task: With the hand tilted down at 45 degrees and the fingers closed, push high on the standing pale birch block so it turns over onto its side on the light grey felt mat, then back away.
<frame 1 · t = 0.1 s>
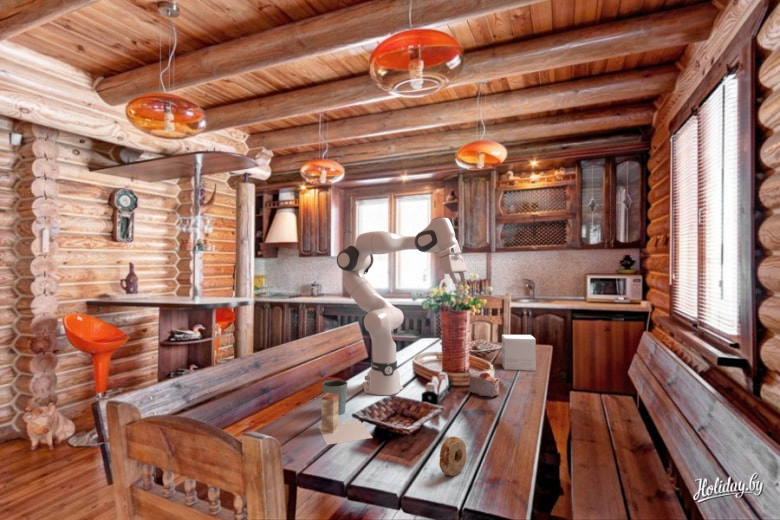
hand: (460, 282, 174), 52 cm above the table, tool tilted 20°, fingers open, 8 cm apart
birch block: (330, 429, 147), resting on felt mat
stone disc: (453, 473, 118), on the table
felt mat: (344, 432, 145), on the table
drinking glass: (334, 413, 165), on the table
supplement box: (518, 367, 236), on the table
food item: (484, 394, 188), on the table
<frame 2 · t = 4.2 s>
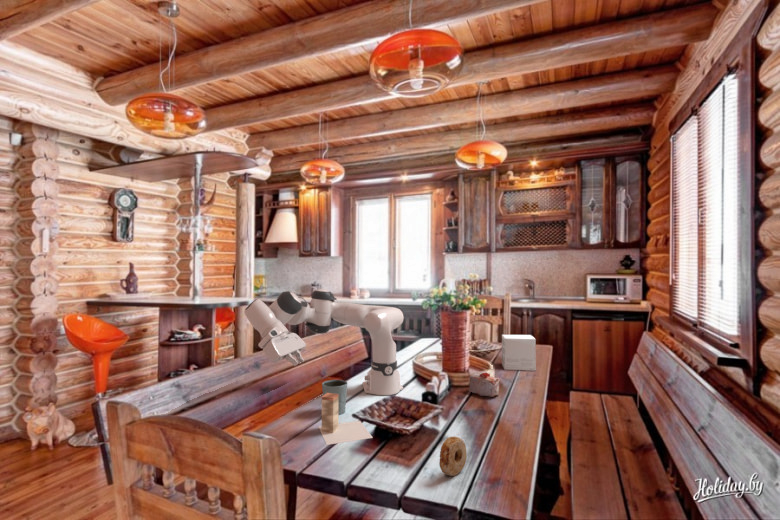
hand: (299, 363, 151), 23 cm above the table, tool tilted 45°, fingers closed
nothing on the table moved.
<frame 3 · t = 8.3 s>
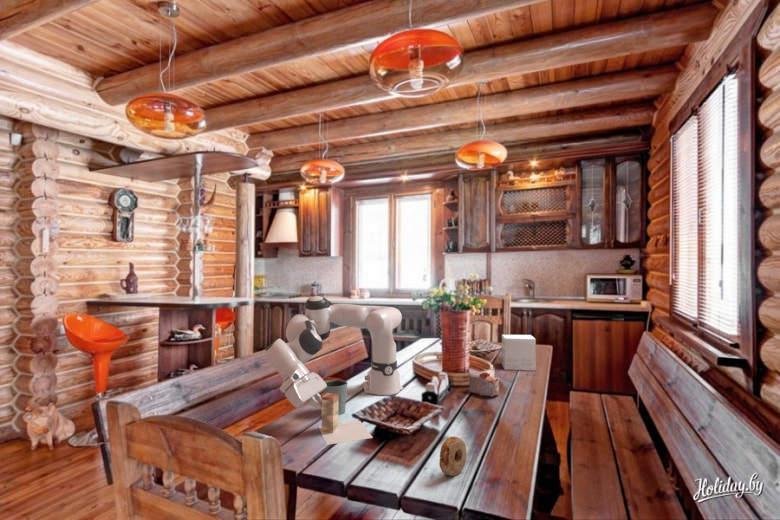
hand: (321, 407, 147), 9 cm above the table, tool tilted 45°, fingers closed, pressing on birch block
birch block: (330, 429, 147), resting on felt mat, touching gripper
everything else where it was.
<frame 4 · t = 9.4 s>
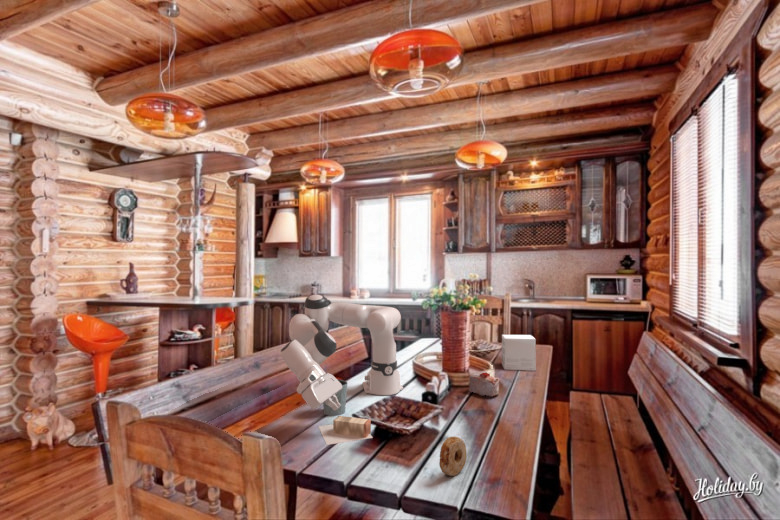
hand: (338, 408, 145), 9 cm above the table, tool tilted 45°, fingers closed
birch block: (336, 424, 146), point 3 cm above the table, tilted 90°, touching felt mat
everything else where it was.
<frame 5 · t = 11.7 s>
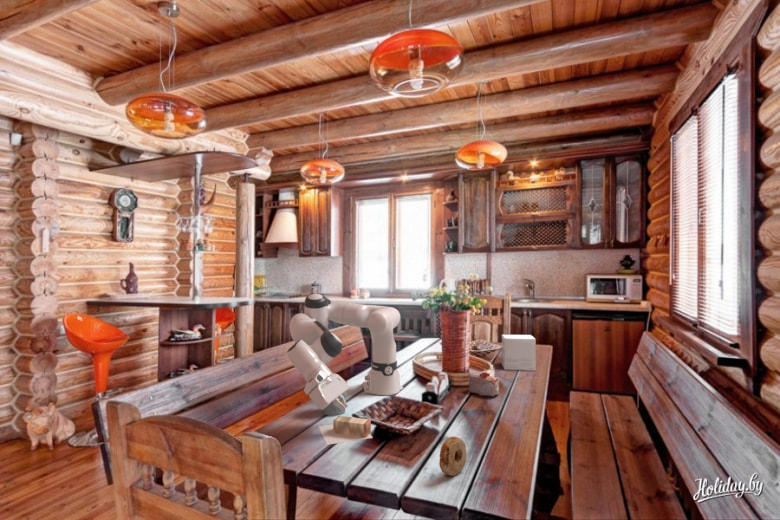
hand: (345, 408, 145), 9 cm above the table, tool tilted 45°, fingers closed
nothing on the table moved.
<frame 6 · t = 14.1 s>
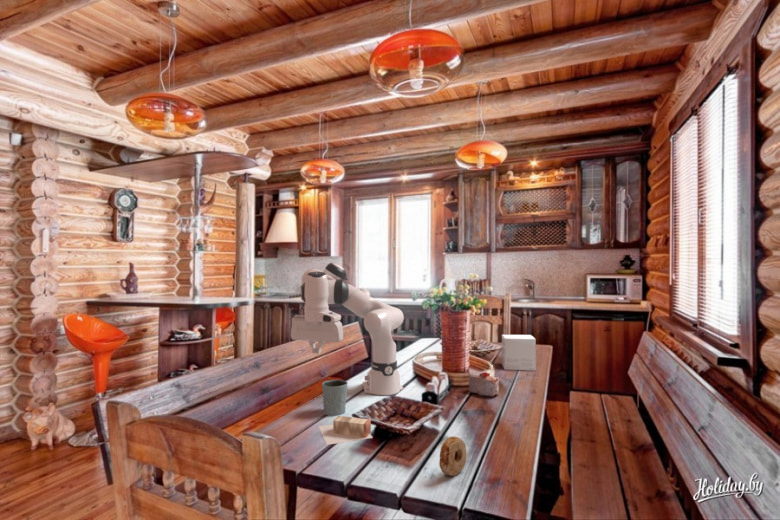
hand: (316, 353, 151), 27 cm above the table, tool pointing down, fingers closed
nothing on the table moved.
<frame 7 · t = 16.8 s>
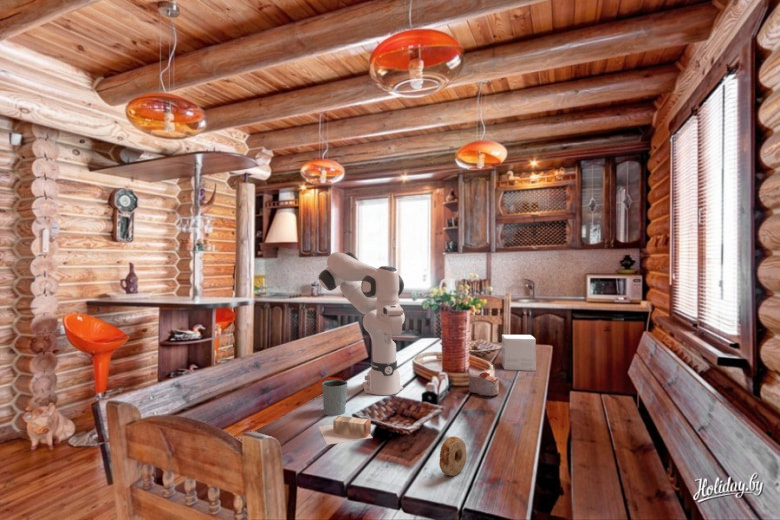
hand: (387, 343, 159), 29 cm above the table, tool pointing down, fingers closed
nothing on the table moved.
at the end: birch block tilted 90°; birch block inside the target area (4.0 cm from its centre), point 2.6 cm above the table; the gripper is holding nothing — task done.
